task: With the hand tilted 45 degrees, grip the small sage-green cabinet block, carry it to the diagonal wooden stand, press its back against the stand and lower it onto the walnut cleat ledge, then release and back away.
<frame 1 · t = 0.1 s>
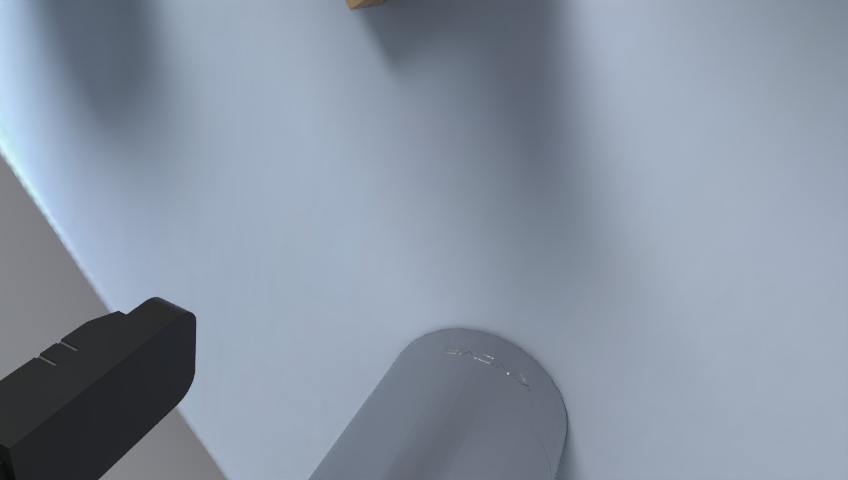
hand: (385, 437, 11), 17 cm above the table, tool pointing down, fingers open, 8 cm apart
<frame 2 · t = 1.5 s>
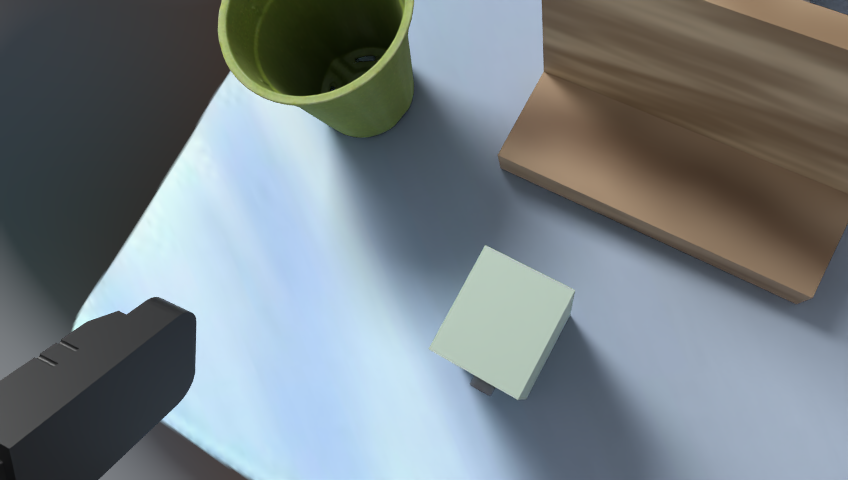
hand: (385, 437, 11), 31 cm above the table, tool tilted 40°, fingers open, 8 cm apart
wooden stand: (682, 145, 42), on the table
cabinet: (513, 337, 41), on the table
plant pot: (367, 96, 48), on the table
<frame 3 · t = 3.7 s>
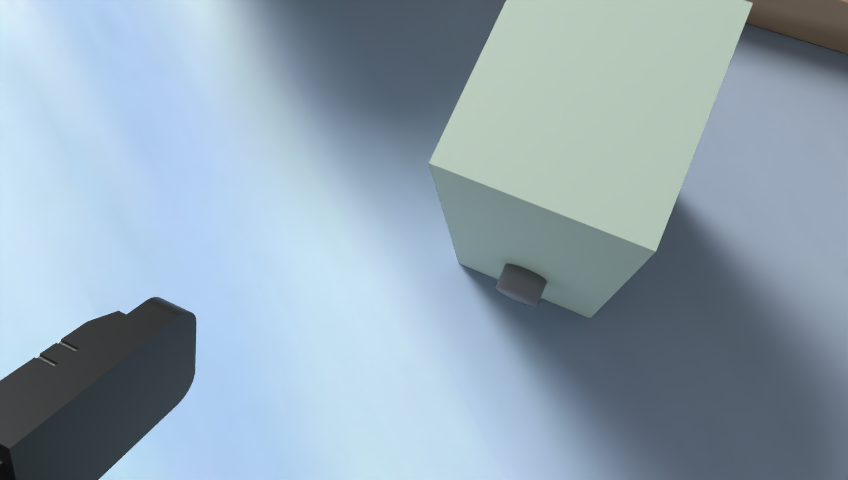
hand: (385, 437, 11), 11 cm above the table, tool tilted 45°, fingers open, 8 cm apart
cabinet: (554, 215, 23), on the table
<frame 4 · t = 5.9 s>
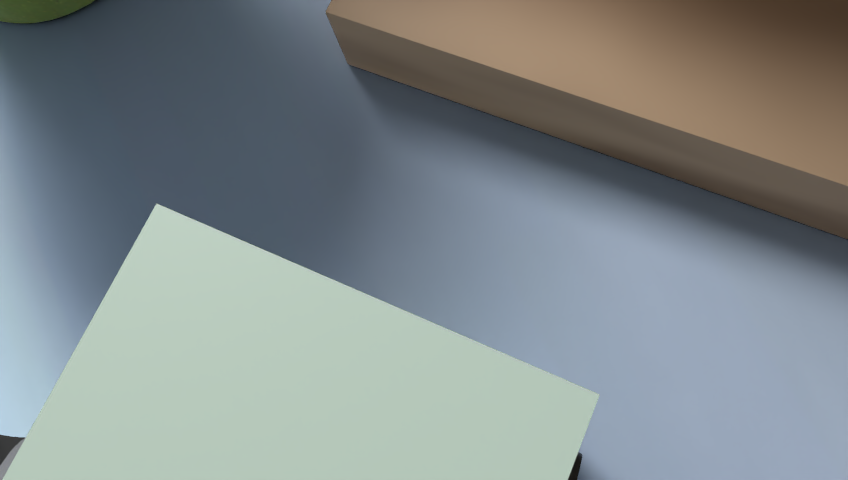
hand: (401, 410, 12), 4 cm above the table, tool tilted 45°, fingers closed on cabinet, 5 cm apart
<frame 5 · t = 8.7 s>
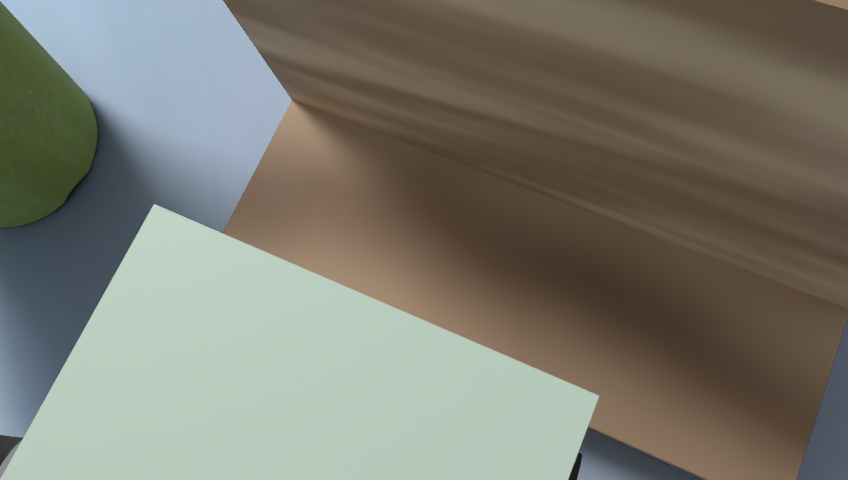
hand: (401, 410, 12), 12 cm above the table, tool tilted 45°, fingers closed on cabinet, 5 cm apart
wooden stand: (540, 215, 24), on the table
plant pot: (26, 155, 28), on the table
when the fingers open (8 cm above the table, at t = 11.3 s): cabinet stays where it is, resting on wooden stand.
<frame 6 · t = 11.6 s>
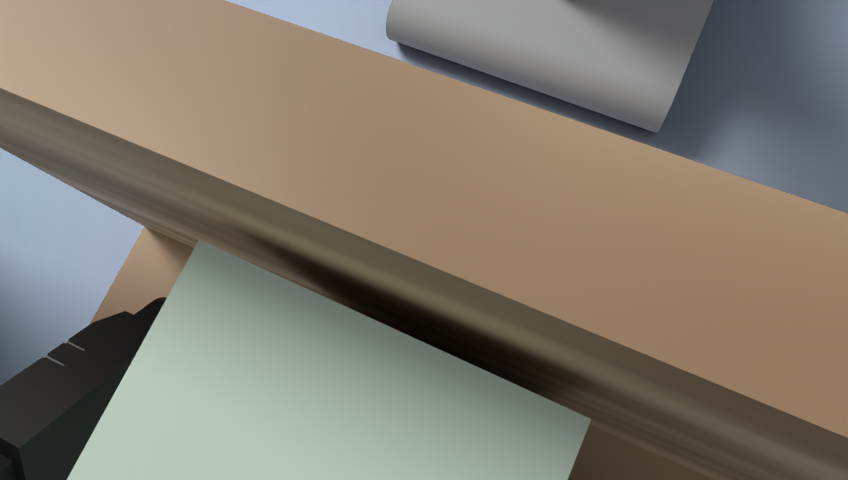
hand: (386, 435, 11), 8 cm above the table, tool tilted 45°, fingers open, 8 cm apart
wooden stand: (459, 370, 19), on the table
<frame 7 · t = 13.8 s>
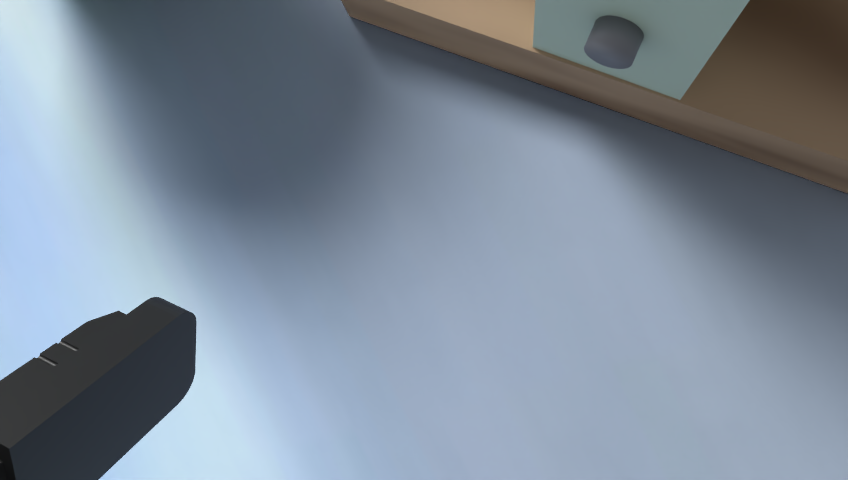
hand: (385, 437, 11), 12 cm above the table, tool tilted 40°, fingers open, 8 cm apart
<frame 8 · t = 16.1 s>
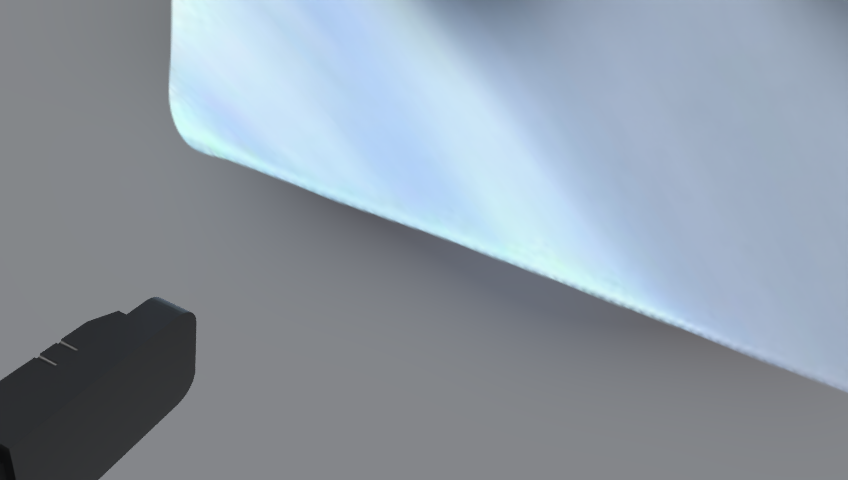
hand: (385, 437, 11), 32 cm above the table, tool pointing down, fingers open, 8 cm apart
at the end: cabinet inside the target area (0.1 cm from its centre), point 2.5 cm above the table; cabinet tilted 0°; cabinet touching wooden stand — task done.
